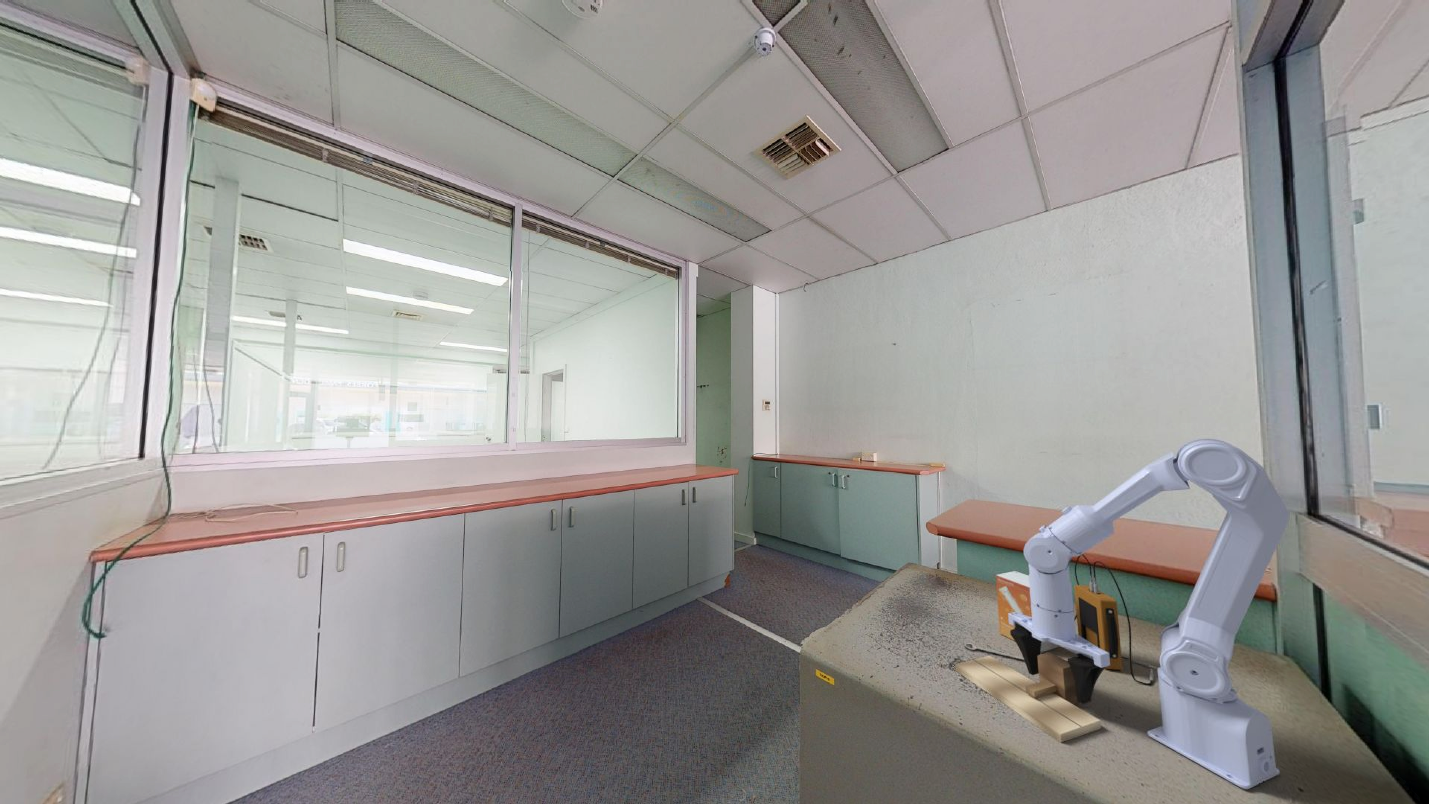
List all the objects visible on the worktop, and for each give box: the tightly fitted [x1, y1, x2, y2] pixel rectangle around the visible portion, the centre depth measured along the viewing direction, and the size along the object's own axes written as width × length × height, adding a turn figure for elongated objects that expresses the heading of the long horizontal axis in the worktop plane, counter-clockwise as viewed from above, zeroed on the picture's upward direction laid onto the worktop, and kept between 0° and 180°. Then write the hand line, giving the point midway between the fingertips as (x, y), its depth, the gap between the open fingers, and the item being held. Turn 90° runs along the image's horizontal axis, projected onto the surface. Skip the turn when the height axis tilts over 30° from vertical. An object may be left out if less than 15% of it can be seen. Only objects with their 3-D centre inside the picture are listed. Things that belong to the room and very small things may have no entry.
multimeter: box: [1073, 553, 1159, 686], centre depth 77 cm, size 15×10×20 cm
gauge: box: [1025, 651, 1079, 705], centre depth 67 cm, size 4×8×6 cm, turn 106°
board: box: [954, 655, 1102, 743], centre depth 68 cm, size 18×8×1 cm, turn 16°
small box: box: [995, 570, 1060, 653], centre depth 85 cm, size 8×6×13 cm
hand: (1058, 686), depth 68 cm, fingers open, 7 cm apart
